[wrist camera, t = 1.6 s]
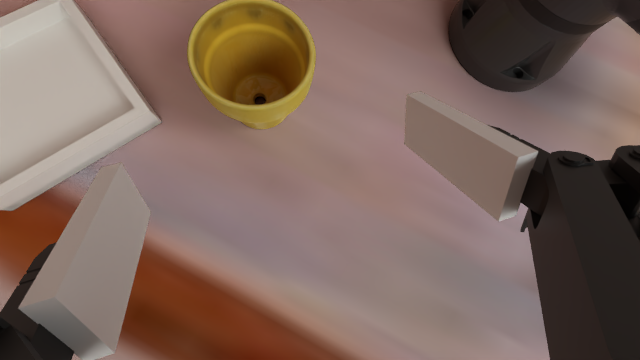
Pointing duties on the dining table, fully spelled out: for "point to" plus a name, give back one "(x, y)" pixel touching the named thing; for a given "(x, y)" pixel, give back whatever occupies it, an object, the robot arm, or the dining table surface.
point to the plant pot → (252, 60)
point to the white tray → (60, 99)
